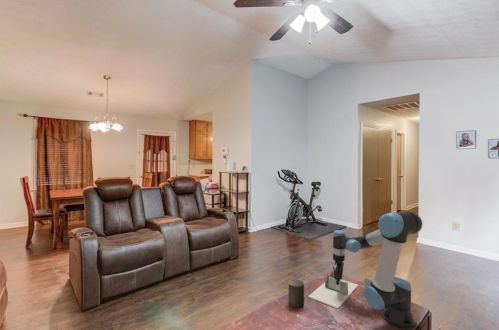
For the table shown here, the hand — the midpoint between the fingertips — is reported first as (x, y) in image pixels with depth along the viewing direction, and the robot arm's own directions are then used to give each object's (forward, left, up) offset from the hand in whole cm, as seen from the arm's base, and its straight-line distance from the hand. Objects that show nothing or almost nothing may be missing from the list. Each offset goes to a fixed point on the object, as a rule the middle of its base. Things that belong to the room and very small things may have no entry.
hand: (338, 288), depth 171 cm
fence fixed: (+11, +10, -3) cm, 15 cm away
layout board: (+2, +4, -4) cm, 6 cm away
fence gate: (+3, +1, -3) cm, 4 cm away
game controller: (+17, -18, -4) cm, 25 cm away
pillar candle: (-29, +16, -4) cm, 33 cm away
